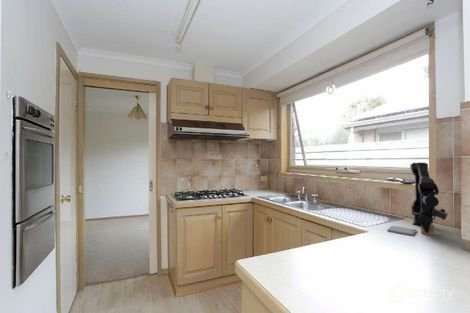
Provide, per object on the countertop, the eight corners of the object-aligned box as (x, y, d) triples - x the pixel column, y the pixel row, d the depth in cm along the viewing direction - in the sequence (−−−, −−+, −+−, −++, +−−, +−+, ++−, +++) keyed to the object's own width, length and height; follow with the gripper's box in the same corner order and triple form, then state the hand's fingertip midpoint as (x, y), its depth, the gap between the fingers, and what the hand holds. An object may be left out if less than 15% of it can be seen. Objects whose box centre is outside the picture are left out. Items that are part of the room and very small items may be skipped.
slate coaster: (392, 227, 145) (392, 225, 145) (416, 231, 137) (416, 229, 137) (387, 231, 137) (387, 229, 137) (413, 236, 128) (413, 234, 128)
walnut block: (422, 231, 136) (422, 223, 136) (433, 233, 133) (433, 224, 133) (421, 233, 133) (421, 224, 133) (432, 235, 129) (432, 226, 129)
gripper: (445, 208, 120) (445, 239, 120) (447, 203, 134) (447, 231, 134) (417, 205, 128) (418, 234, 128) (422, 201, 142) (422, 227, 141)
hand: (427, 231), depth 133 cm, fingers closed on walnut block, 5 cm apart
